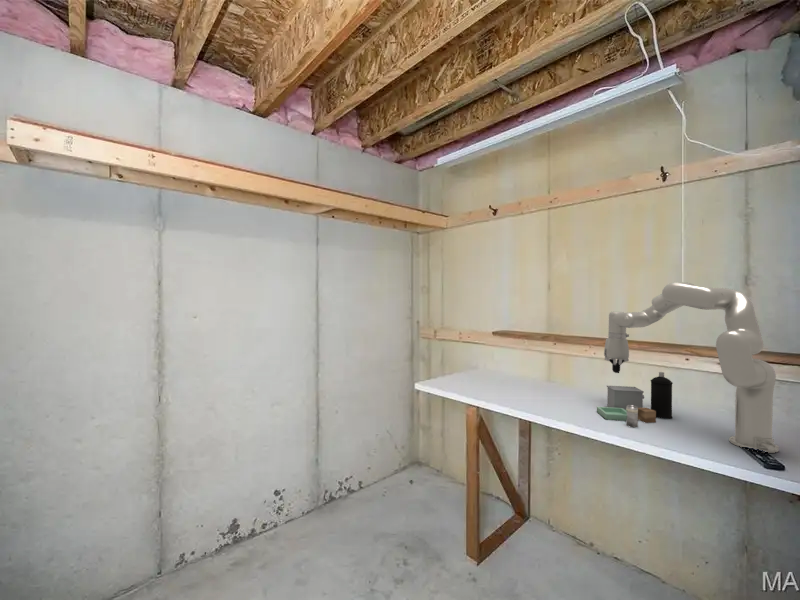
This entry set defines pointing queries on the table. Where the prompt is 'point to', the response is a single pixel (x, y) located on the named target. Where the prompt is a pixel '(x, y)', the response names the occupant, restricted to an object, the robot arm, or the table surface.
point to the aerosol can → (661, 396)
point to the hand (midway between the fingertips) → (616, 372)
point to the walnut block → (646, 415)
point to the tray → (612, 413)
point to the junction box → (624, 397)
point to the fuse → (632, 415)
